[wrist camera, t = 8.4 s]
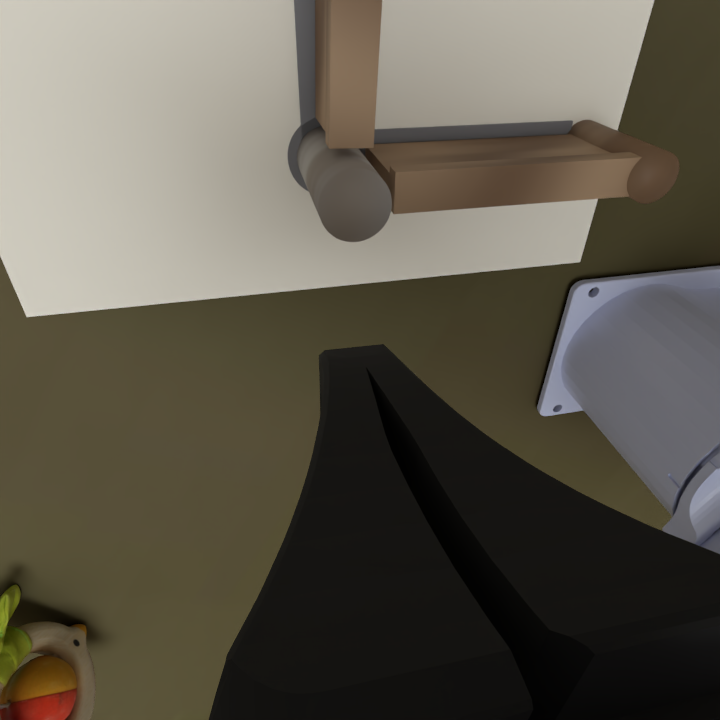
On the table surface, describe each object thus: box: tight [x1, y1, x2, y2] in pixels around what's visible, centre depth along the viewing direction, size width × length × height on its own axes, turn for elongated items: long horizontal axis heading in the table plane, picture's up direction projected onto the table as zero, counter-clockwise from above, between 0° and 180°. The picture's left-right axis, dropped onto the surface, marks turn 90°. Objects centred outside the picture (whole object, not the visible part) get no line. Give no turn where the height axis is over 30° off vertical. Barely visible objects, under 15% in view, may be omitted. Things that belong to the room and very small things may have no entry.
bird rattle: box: [0, 585, 96, 720], centre depth 26 cm, size 6×11×9 cm
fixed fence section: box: [297, 120, 679, 242], centre depth 17 cm, size 11×2×5 cm, turn 89°
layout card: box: [0, 0, 654, 317], centre depth 16 cm, size 22×16×1 cm
